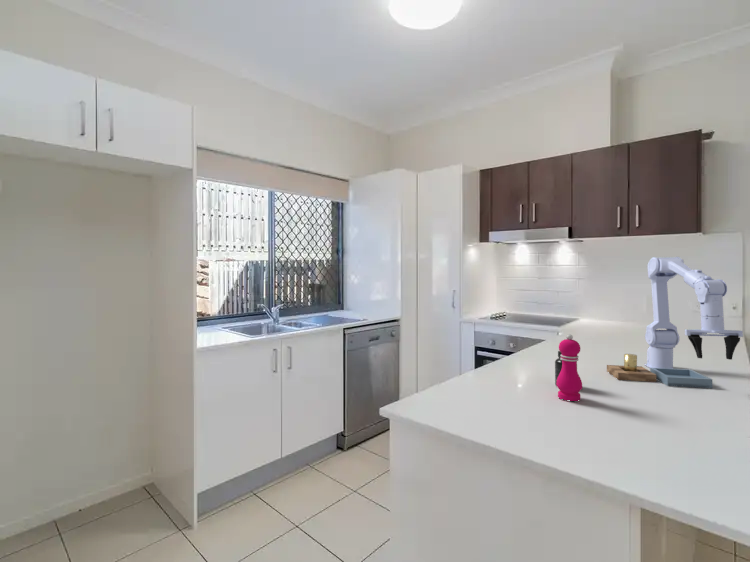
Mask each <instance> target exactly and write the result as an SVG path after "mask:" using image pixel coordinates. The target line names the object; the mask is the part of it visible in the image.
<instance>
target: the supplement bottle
mask: <svg viewBox="0 0 750 562" xmlns="http://www.w3.org/2000/svg"><path fill="white" fill-rule="evenodd" d="M561 354H562V353H561V352H560V350H558V351H557V357H558V358H557V359H555V361H554V384H555V386H556V387H557V385H556V382H557V378H558V376H559V374H560V372H561V369H562V360H561V359H560V358H561V356H560V355H561Z"/></svg>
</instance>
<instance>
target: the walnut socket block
mask: <svg viewBox="0 0 750 562" xmlns="http://www.w3.org/2000/svg"><path fill="white" fill-rule="evenodd" d="M606 372H607V373H608V372H609V373H608V374H609V375H611V376H612V375H613V376H612V377H614V378H615V379H616V378H617V379H616V380H617V381H628V380H631V382H651V383H652V382H653V383H656V382H657V379H656V374H654V373H652V372H651V371H650V370H649V369H647V368H646V367H643V366H638V365H637V372H631V371H624V365H619V364H618V365H614V364H606Z"/></svg>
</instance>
